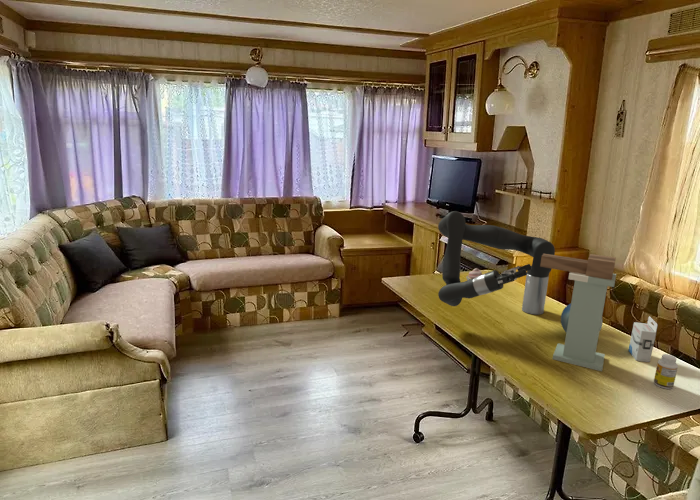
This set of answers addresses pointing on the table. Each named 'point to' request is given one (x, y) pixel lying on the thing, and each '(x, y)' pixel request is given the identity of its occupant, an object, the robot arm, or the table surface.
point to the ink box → (643, 340)
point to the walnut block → (582, 265)
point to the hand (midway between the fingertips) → (528, 269)
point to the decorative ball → (566, 317)
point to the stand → (584, 322)
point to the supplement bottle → (666, 371)
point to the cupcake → (474, 274)
